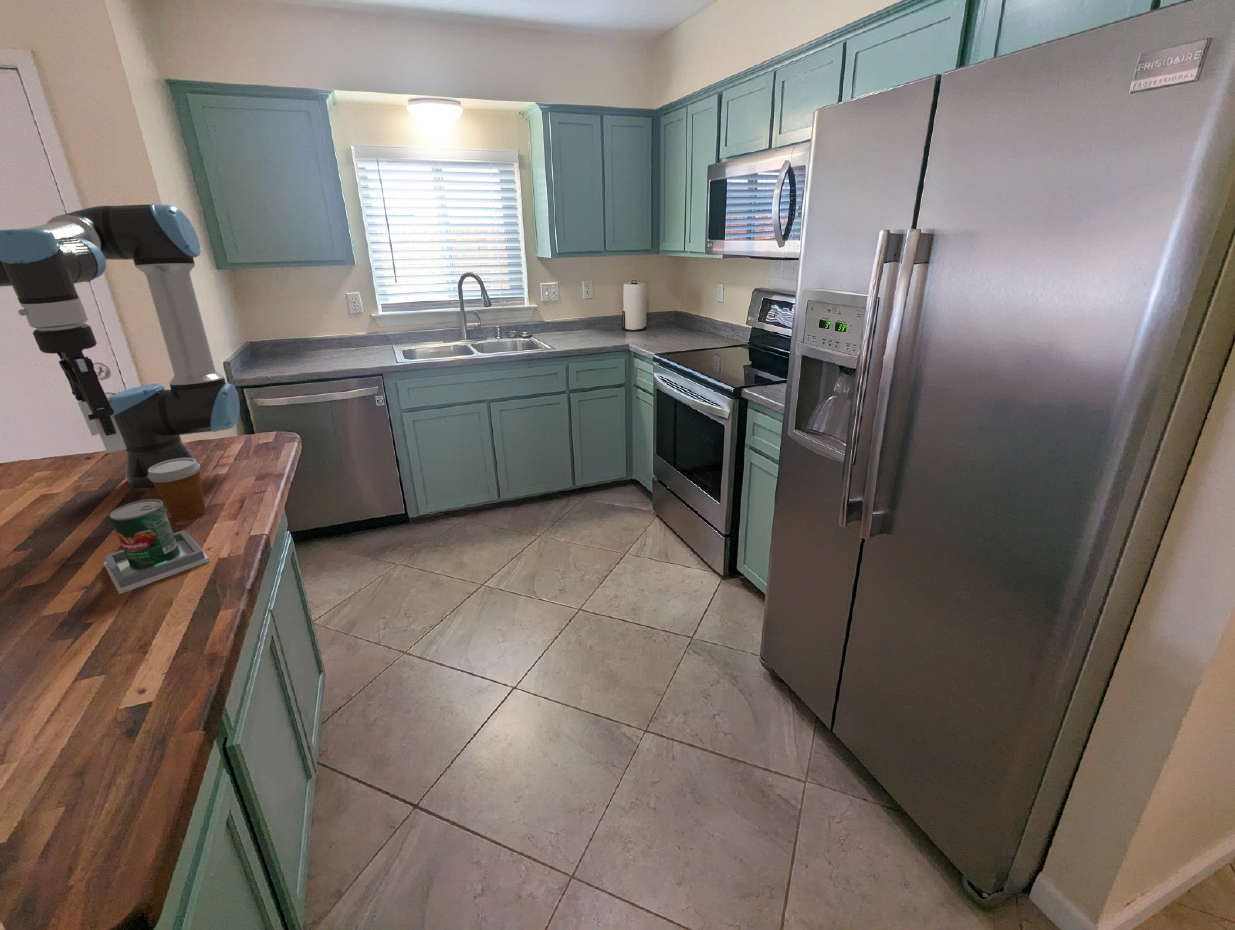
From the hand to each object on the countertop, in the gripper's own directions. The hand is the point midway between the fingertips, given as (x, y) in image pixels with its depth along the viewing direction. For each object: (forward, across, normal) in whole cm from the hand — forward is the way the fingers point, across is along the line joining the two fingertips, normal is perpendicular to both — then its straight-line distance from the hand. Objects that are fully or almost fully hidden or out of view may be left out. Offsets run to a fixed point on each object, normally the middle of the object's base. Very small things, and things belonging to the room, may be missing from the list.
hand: (108, 441), depth 109 cm
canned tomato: (+22, +8, -1) cm, 24 cm away
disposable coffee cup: (+24, -12, +9) cm, 28 cm away
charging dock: (+23, +8, -1) cm, 24 cm away
